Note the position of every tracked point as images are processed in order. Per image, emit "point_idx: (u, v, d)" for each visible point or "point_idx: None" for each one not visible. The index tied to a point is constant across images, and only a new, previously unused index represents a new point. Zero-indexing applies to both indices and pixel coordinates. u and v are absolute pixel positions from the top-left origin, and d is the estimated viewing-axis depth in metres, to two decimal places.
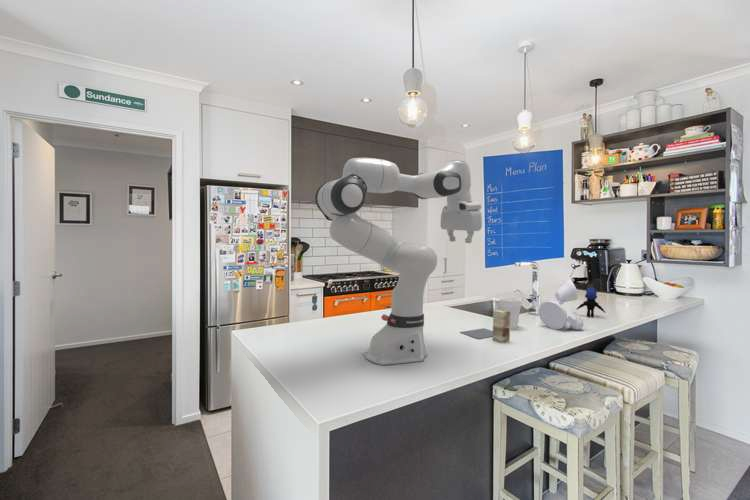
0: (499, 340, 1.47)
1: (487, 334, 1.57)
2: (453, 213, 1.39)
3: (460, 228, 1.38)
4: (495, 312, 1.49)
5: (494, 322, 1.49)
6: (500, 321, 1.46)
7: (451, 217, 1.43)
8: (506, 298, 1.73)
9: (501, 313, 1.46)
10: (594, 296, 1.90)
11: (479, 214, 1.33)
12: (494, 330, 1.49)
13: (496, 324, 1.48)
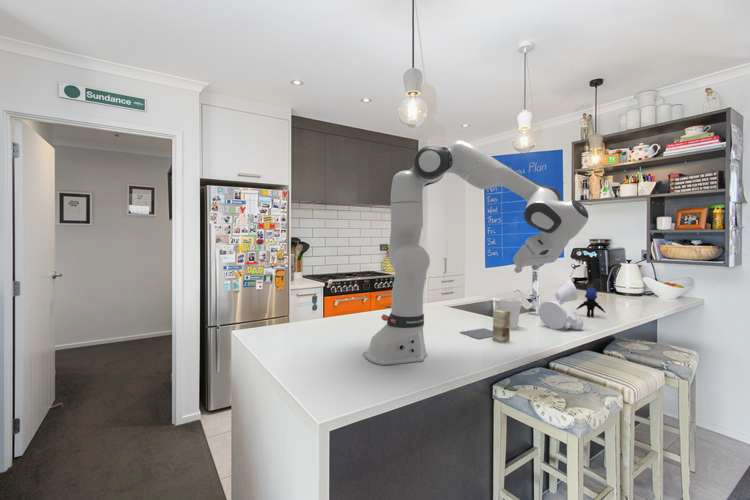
0: (499, 340, 1.47)
1: (487, 334, 1.57)
2: None
3: None
4: (495, 312, 1.49)
5: (494, 322, 1.49)
6: (500, 321, 1.46)
7: None
8: (506, 298, 1.73)
9: (501, 313, 1.46)
10: (594, 296, 1.90)
11: (527, 254, 1.24)
12: (494, 330, 1.49)
13: (496, 324, 1.48)
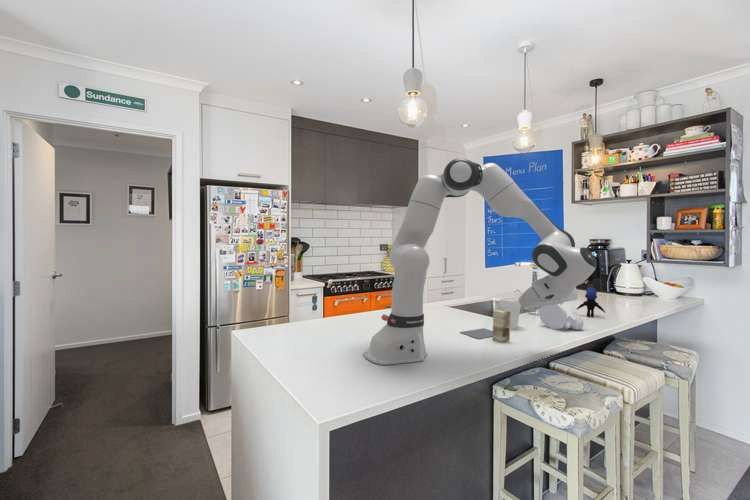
0: (499, 340, 1.47)
1: (487, 334, 1.57)
2: None
3: None
4: (495, 312, 1.49)
5: (494, 322, 1.49)
6: (500, 321, 1.46)
7: None
8: (506, 298, 1.73)
9: (501, 313, 1.46)
10: (594, 296, 1.90)
11: (532, 297, 1.24)
12: (494, 330, 1.49)
13: (496, 324, 1.48)
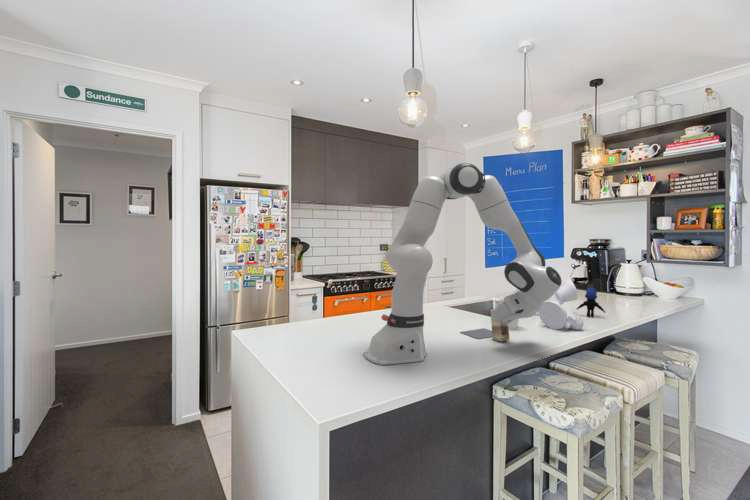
0: (499, 339, 1.47)
1: (487, 334, 1.57)
2: None
3: None
4: (492, 311, 1.50)
5: (492, 321, 1.50)
6: None
7: None
8: None
9: None
10: (594, 296, 1.90)
11: (504, 312, 1.35)
12: (493, 329, 1.50)
13: (494, 323, 1.49)
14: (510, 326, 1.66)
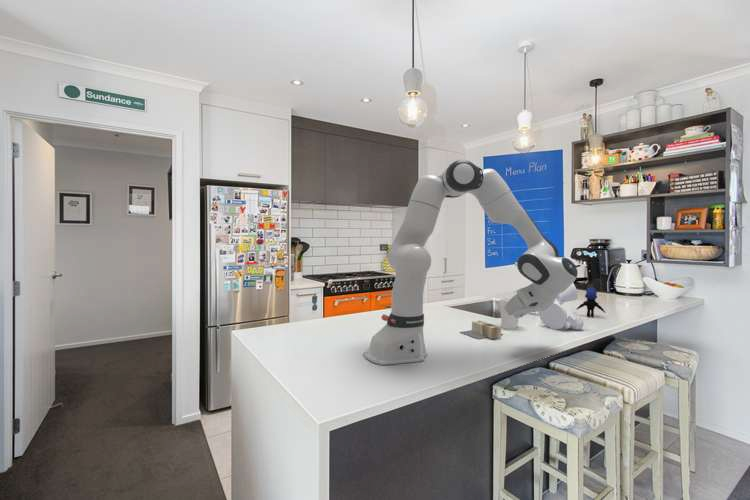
0: (491, 330, 1.51)
1: None
2: None
3: None
4: (472, 329, 1.60)
5: (479, 332, 1.57)
6: (478, 324, 1.57)
7: None
8: (506, 298, 1.73)
9: (472, 322, 1.60)
10: (594, 296, 1.90)
11: (517, 305, 1.30)
12: (485, 334, 1.54)
13: (480, 330, 1.56)
14: (510, 326, 1.66)
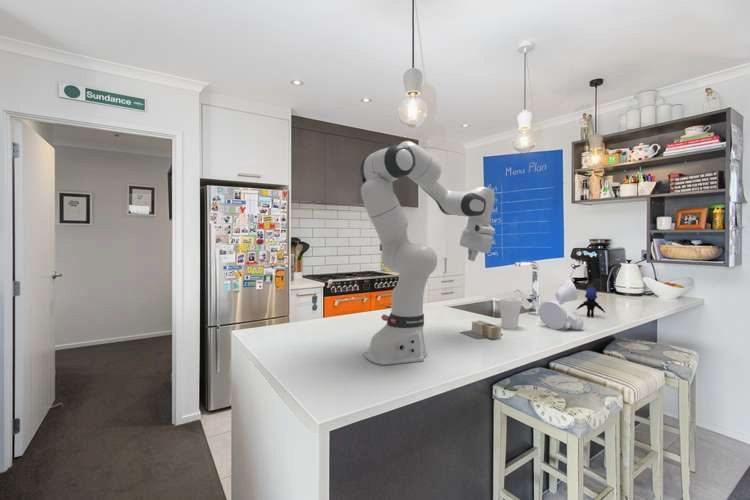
0: (491, 330, 1.51)
1: None
2: (470, 233, 1.52)
3: (472, 247, 1.50)
4: (472, 329, 1.60)
5: (479, 332, 1.57)
6: (478, 324, 1.57)
7: (469, 236, 1.55)
8: (506, 298, 1.73)
9: (472, 322, 1.60)
10: (594, 296, 1.90)
11: (490, 238, 1.44)
12: (485, 334, 1.54)
13: (480, 330, 1.56)
14: (510, 326, 1.66)
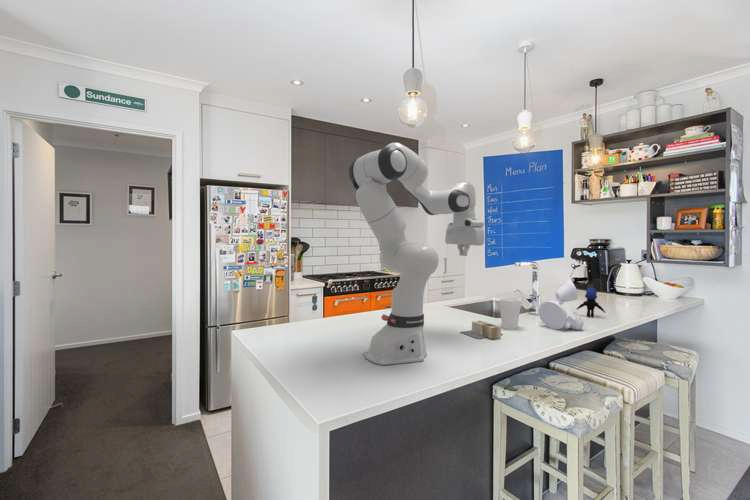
0: (491, 330, 1.51)
1: None
2: (458, 229, 1.54)
3: (464, 243, 1.53)
4: (472, 329, 1.60)
5: (479, 332, 1.57)
6: (478, 324, 1.57)
7: (456, 233, 1.57)
8: (506, 298, 1.73)
9: (472, 322, 1.60)
10: (594, 296, 1.90)
11: (482, 230, 1.48)
12: (485, 334, 1.54)
13: (480, 330, 1.56)
14: (510, 326, 1.66)
